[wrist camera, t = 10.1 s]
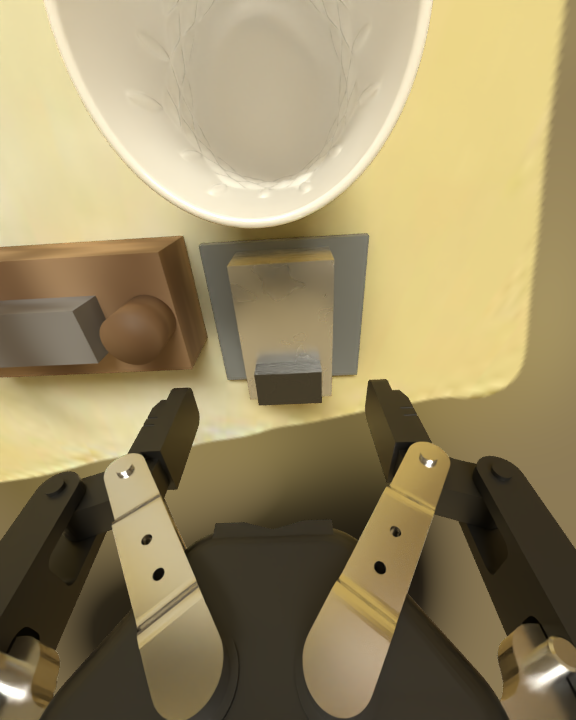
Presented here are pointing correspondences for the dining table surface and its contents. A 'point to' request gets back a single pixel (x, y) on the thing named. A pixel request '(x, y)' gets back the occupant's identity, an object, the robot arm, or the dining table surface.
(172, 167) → the white cup
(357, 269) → the slate mat
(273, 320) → the lever cap
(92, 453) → the dining table surface
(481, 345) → the dining table surface
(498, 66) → the dining table surface
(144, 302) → the plane body
